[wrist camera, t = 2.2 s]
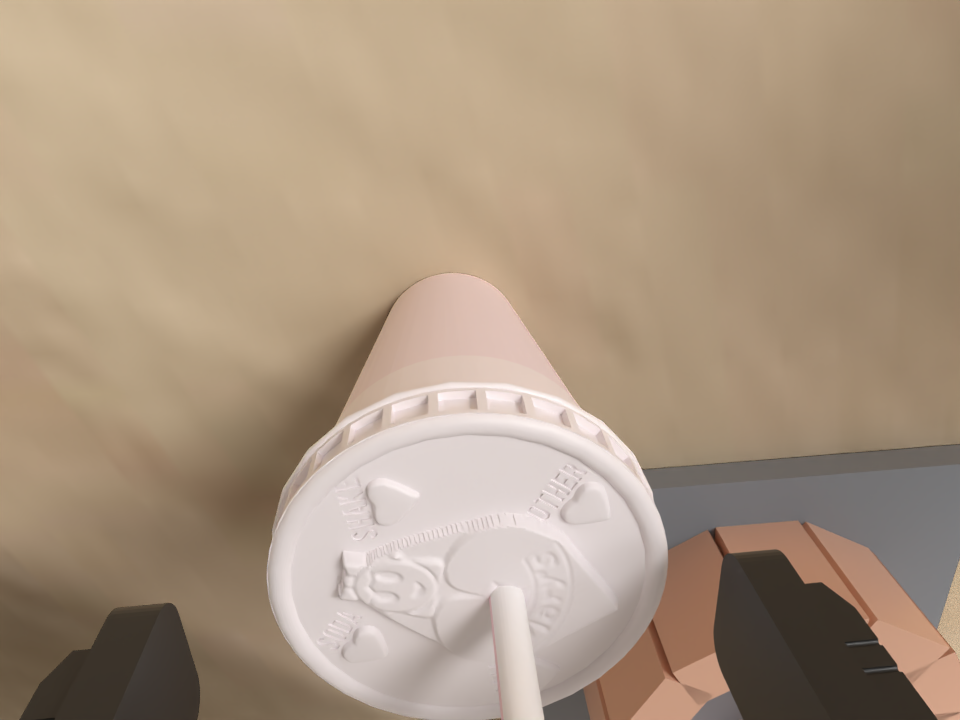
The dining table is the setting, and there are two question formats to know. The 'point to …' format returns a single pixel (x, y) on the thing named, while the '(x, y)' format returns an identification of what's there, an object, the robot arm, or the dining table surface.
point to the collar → (816, 558)
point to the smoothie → (464, 524)
